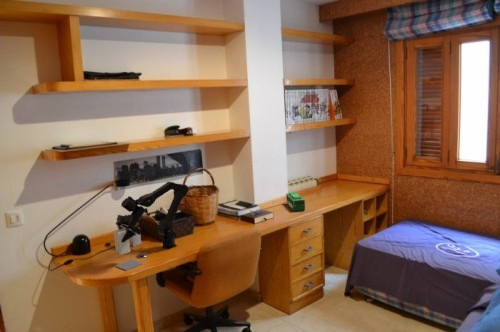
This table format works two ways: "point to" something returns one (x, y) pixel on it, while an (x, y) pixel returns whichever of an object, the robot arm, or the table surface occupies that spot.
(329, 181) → the table surface
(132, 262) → the slate mat
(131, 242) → the small box
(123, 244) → the sage pillar
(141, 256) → the cable grommet
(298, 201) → the toy bus
